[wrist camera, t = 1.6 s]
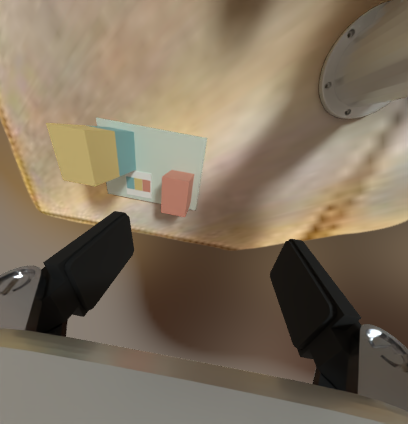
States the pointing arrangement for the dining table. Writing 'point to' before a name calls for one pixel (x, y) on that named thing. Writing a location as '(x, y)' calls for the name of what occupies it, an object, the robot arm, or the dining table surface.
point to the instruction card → (139, 184)
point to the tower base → (92, 152)
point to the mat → (160, 158)
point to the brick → (176, 192)
